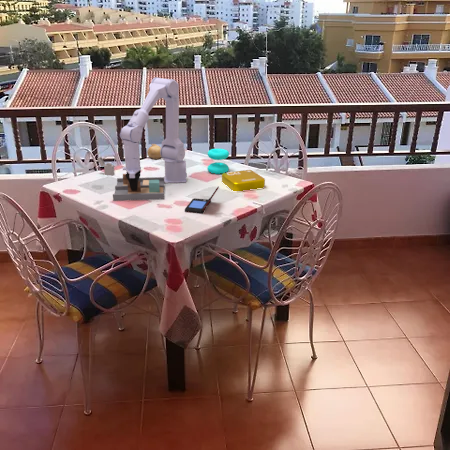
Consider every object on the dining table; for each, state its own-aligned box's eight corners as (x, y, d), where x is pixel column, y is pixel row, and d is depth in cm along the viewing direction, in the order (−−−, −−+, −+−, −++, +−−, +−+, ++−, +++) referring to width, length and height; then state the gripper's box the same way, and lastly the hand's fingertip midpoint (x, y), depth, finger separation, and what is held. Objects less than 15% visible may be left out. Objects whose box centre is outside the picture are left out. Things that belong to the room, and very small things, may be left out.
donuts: (233, 150, 221) (220, 155, 213) (232, 170, 225) (220, 176, 217) (215, 146, 226) (203, 151, 218) (215, 166, 230) (203, 172, 223)
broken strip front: (138, 182, 205) (137, 171, 203) (137, 188, 198) (136, 177, 196) (124, 182, 205) (123, 171, 203) (122, 188, 198) (122, 177, 196)
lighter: (114, 174, 217) (113, 157, 214) (113, 175, 216) (111, 158, 212) (100, 173, 219) (98, 156, 215) (98, 174, 217) (96, 157, 214)
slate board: (164, 182, 208) (164, 177, 207) (164, 199, 190) (164, 193, 189) (117, 183, 206) (117, 178, 205) (113, 200, 188) (112, 194, 187)
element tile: (234, 193, 199) (234, 182, 197) (220, 182, 211) (220, 172, 209) (266, 189, 204) (266, 178, 202) (250, 178, 217) (250, 168, 215)
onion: (165, 156, 245) (164, 142, 242) (160, 160, 238) (160, 146, 235) (150, 155, 246) (149, 141, 243) (145, 159, 239) (144, 145, 236)
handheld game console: (193, 200, 190) (192, 183, 187) (219, 203, 188) (219, 185, 185) (183, 212, 179) (183, 194, 176) (211, 215, 177) (211, 196, 174)
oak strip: (163, 189, 198) (162, 178, 196) (163, 195, 191) (162, 184, 189) (128, 189, 196) (128, 178, 194) (127, 196, 190) (126, 185, 188)
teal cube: (159, 188, 196) (159, 179, 194) (159, 192, 192) (159, 182, 191) (149, 189, 195) (149, 179, 194) (149, 192, 192) (148, 183, 190)
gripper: (123, 151, 193) (125, 183, 199) (120, 162, 180) (122, 196, 186) (141, 151, 194) (142, 183, 199) (139, 162, 181) (141, 195, 186)
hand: (134, 189), depth 193 cm, fingers closed on oak strip, 2 cm apart
